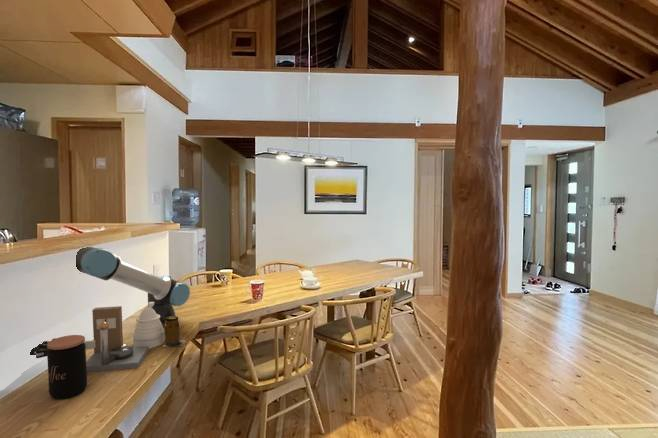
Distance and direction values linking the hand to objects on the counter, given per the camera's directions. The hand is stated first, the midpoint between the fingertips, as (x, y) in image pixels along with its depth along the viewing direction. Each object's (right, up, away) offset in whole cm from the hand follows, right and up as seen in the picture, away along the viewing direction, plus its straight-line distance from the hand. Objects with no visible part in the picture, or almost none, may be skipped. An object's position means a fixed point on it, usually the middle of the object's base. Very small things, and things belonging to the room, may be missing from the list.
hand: (94, 344), depth 145 cm
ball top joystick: (+5, -8, +7) cm, 12 cm away
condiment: (+19, -9, +27) cm, 34 cm away
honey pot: (+8, -9, +28) cm, 30 cm away
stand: (+3, -10, +9) cm, 14 cm away
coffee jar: (0, -12, -15) cm, 19 cm away
